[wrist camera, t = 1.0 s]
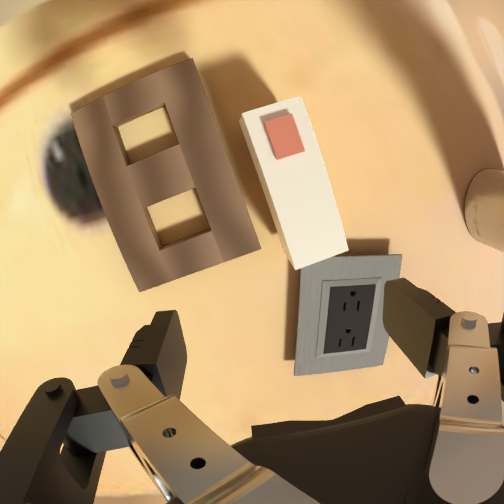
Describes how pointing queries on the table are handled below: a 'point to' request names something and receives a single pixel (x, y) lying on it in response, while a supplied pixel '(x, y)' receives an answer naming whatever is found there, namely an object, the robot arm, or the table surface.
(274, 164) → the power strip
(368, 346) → the electrical outlet
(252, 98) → the table surface
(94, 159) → the brown wooden slotted board
